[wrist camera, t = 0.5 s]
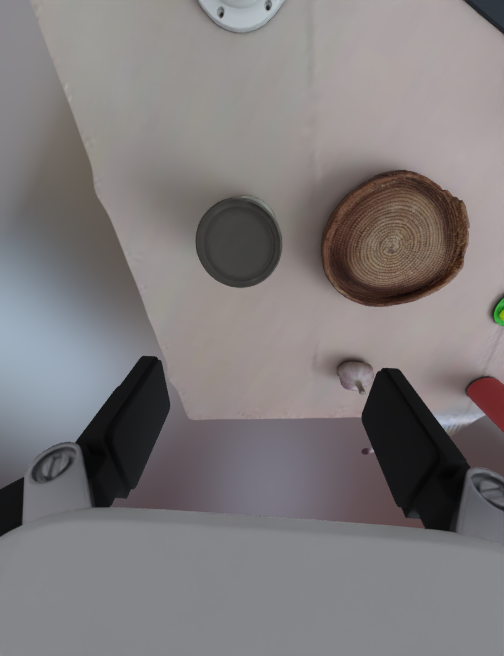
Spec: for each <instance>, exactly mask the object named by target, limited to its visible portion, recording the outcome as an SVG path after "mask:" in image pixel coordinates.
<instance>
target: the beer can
mask: <svg viewBox="0 0 504 656" xmlns="http://www.w3.org/2000/svg"><path fill="white" fill-rule="evenodd" d="M467 395H468V396H469V398H470V399H471V400H472V401H473V402H474V403H475V404H476V405H477V406H478V407H479V408H480V409H481V410H482V411H483V412H484V413H485V414H486V415H487V416H488V417H489V418H490V419H491V420H492V421H493V422H494V423H495V424H496V425H497V426H498V427H499V428H500V429H501V430H502V431H503V432H504V384H502V383H501V382H500V381H499V380H497V379H495V378H490V377H488V378H481V379H478V380H476V381H474V382H473V383H471V384H470V386H469V387H468V389H467Z"/></svg>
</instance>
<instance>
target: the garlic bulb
mask: <svg viewBox="0 0 504 656" xmlns="http://www.w3.org/2000/svg"><path fill="white" fill-rule="evenodd" d="M337 374H338V376H339V379H340V382H341V385H342V386H343V387H344V388H345V389H348V390H354V391H359V393H360V394H361V395H365V394H366V392H365V390H364V388H363V387H366V386H367V385H369V384H370V383H371V382H372V380H373V378H374V373H373V368H372V366H371V365H370V364H368V363H363V362H355V361H353V362H345V363H343V364H342V365H341V366H339V367H338V368H337Z"/></svg>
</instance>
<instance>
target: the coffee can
mask: <svg viewBox="0 0 504 656" xmlns="http://www.w3.org/2000/svg"><path fill="white" fill-rule="evenodd" d="M196 250H197V254H198V257H199V260H200V262H201V264H202V265H203V267H204V268H205V270H206V271H207V272H208V273H209V275H211V276H212V277H213V278H214V279H215V280H217V281H219V282H220V283H222V284H225V285H227V286H231V287H237V288H244V287H250V286H254V285H256V284H259V283H261V282H262V281H264V280H265V279H266V278H267V277H269V276H270V275H271V273H272V272H273V271H274V270H275V268H276V266H277V264H278V262H279V260H280V256H281V252H282V236H281V232H280V229H279V226H278V224H277V222H276V220H275V216H274V214H273V212H272V211H271V209H270V208H269V207H268V205H267V204H266V203H264V202H263V201H262V200H260V199H258V198H256V197H252V196H239V197H235V198H229V199H225V200H222V201H220V202H218V203H216V204H215V205H213V206H212V207H211V208H210V209H209V210H208V211H207V212H206V213H205V214H204V215H203V217H202V219H201V221H200V223H199V225H198V228H197V233H196Z"/></svg>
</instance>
